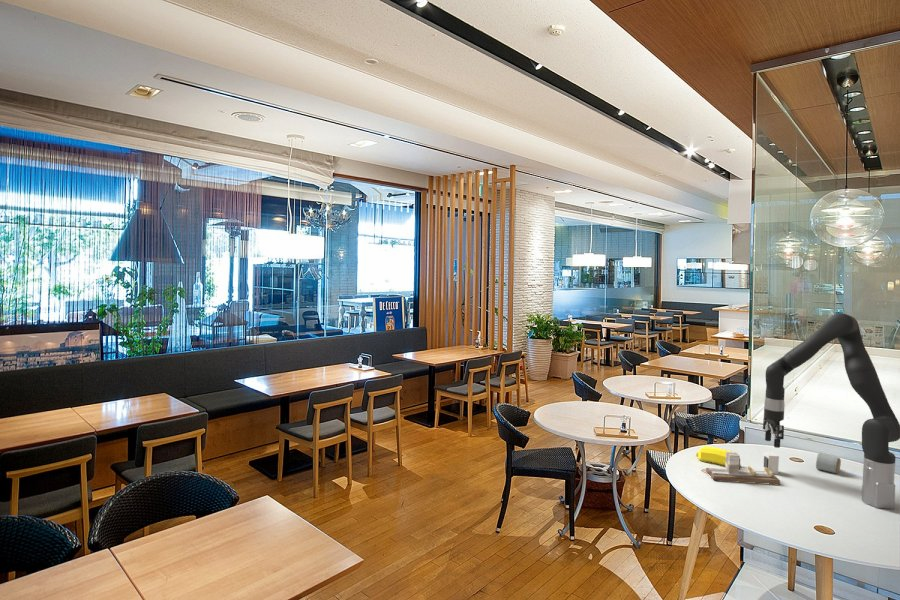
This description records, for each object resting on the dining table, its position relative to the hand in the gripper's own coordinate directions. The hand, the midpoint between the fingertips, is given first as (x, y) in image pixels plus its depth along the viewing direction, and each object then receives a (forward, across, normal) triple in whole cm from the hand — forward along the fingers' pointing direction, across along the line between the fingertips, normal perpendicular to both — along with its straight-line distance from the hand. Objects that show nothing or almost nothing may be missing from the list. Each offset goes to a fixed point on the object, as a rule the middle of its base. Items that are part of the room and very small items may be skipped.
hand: (772, 444), depth 227 cm
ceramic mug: (+13, +6, -26) cm, 30 cm away
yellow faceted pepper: (+13, +7, +20) cm, 25 cm away
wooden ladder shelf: (+12, -11, +16) cm, 23 cm away
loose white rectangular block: (+13, 0, 0) cm, 13 cm away
